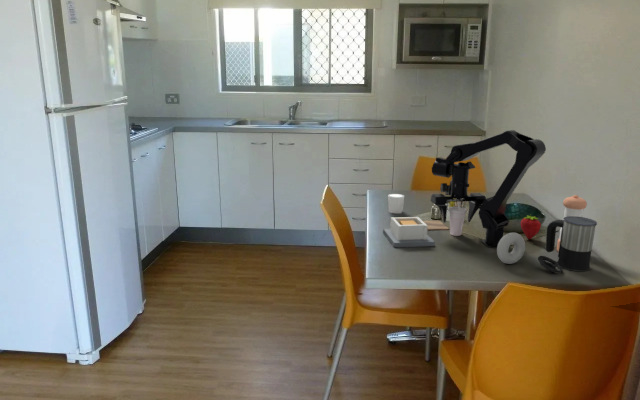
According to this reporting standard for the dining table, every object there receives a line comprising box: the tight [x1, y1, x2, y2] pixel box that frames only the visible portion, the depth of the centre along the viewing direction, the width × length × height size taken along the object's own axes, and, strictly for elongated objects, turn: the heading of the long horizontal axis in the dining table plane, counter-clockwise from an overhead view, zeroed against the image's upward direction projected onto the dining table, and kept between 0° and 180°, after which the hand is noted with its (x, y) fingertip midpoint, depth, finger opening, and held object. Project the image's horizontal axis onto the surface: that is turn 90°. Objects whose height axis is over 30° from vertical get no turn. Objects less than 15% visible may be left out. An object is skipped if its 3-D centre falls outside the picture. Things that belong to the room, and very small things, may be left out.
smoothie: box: [447, 198, 468, 237], centre depth 190 cm, size 6×6×14 cm
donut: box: [496, 232, 526, 265], centre depth 163 cm, size 10×4×10 cm, turn 113°
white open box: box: [382, 216, 436, 248], centre depth 185 cm, size 16×14×6 cm
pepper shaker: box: [556, 194, 588, 253], centre depth 173 cm, size 7×7×19 cm
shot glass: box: [387, 193, 405, 214], centre depth 220 cm, size 7×7×7 cm
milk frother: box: [537, 216, 598, 274], centre depth 159 cm, size 14×16×15 cm
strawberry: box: [520, 215, 542, 240], centre depth 186 cm, size 6×8×10 cm
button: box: [400, 221, 418, 225], centre depth 185 cm, size 5×5×2 cm
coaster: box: [422, 219, 450, 231], centre depth 202 cm, size 11×11×1 cm
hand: (456, 222), depth 191 cm, fingers open, 9 cm apart
